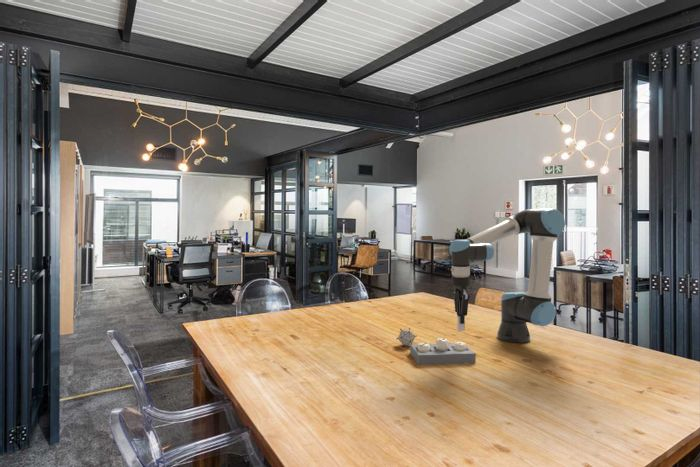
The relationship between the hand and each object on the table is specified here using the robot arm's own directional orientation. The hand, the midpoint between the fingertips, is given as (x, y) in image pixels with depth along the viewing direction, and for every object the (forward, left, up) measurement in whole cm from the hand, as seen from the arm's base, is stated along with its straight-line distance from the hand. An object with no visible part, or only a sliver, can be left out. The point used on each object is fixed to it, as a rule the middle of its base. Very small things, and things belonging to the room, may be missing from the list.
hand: (461, 330), depth 172 cm
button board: (+9, 0, -12) cm, 14 cm away
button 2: (+9, 0, -9) cm, 12 cm away
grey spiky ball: (+20, -18, -12) cm, 29 cm away
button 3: (+17, 0, -11) cm, 20 cm away
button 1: (+1, 0, -11) cm, 11 cm away
